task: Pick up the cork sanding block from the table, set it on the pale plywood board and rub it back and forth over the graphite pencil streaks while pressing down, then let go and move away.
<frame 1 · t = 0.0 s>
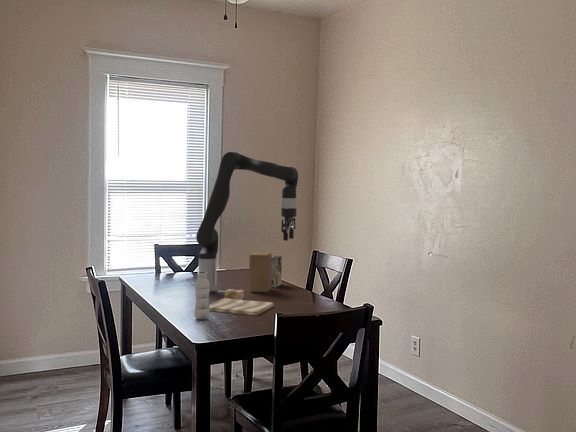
hand: (288, 239, 291), 29 cm above the table, tool pointing down, fingers open, 8 cm apart
sanding block: (234, 299, 288), on the table
board: (239, 307, 269), on the table
plastic bottle: (202, 319, 248), on the table
wooden block: (260, 291, 309), on the table
coffee box: (273, 286, 323), on the table
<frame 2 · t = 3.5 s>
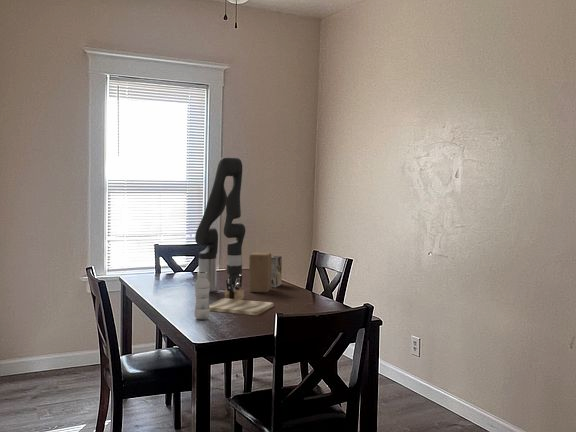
hand: (234, 297, 287), 1 cm above the table, tool pointing down, fingers closed on sanding block, 5 cm apart
sanding block: (234, 299, 288), on the table, touching gripper
everything else where it was.
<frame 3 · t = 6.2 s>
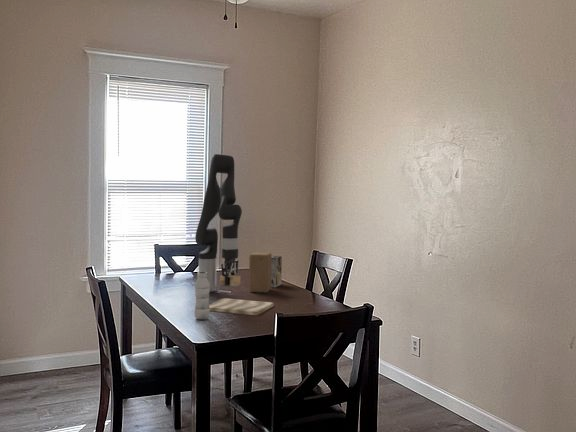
hand: (230, 283, 270), 11 cm above the table, tool pointing down, fingers closed on sanding block, 5 cm apart
sanding block: (230, 285, 270), point 10 cm above the table, touching gripper
everything else where it was.
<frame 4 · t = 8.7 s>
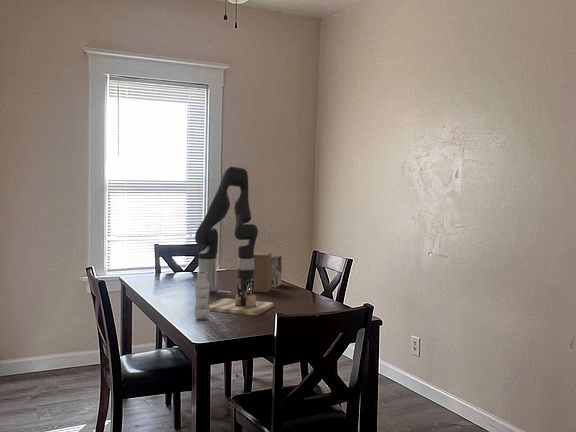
hand: (245, 304, 268), 2 cm above the table, tool pointing down, fingers closed on sanding block, 5 cm apart
sanding block: (245, 305, 268), point 2 cm above the table, touching gripper
everything else where it was.
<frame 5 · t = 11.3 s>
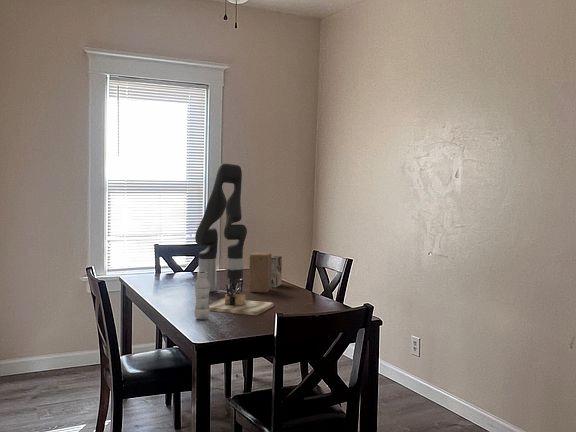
hand: (234, 303, 270), 2 cm above the table, tool pointing down, fingers closed on sanding block, 5 cm apart
sanding block: (235, 304, 270), point 2 cm above the table, touching gripper
everything else where it was.
when the fingers open (2 cm above the table, at t = 13.9 s): sanding block stays where it is, resting on board.
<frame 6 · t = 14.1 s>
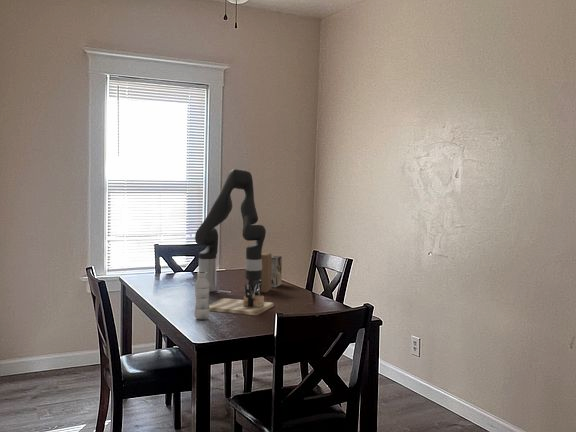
hand: (253, 304, 267), 2 cm above the table, tool pointing down, fingers open, 6 cm apart
sanding block: (253, 306, 267), point 2 cm above the table, touching board
everything else where it was.
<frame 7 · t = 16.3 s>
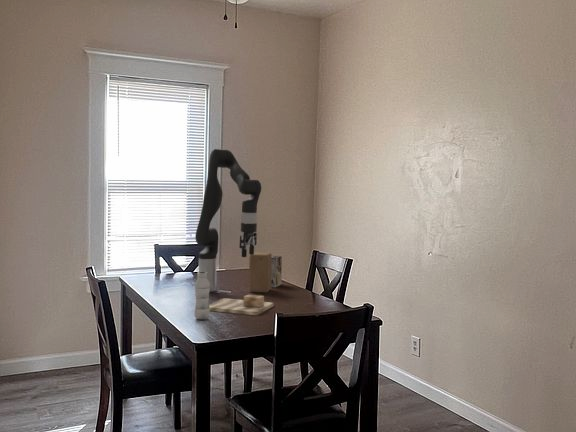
hand: (247, 255, 277), 23 cm above the table, tool pointing down, fingers open, 8 cm apart
nothing on the table moved.
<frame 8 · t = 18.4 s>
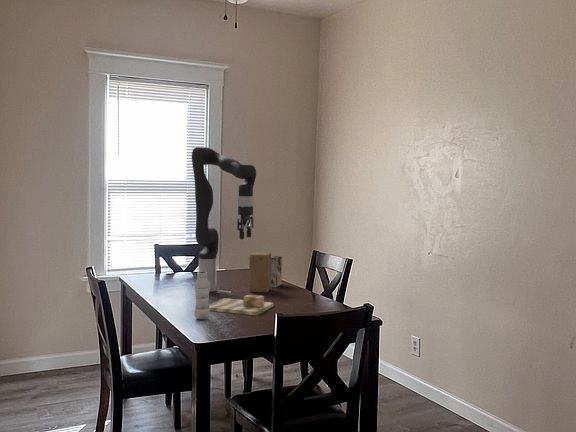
hand: (245, 238, 288), 30 cm above the table, tool pointing down, fingers open, 8 cm apart
nothing on the table moved.
at the end: sanding block inside the target area on the board (5.6 cm from its centre), point 1.5 cm above the board's base; sanding block tilted 0°; the gripper is holding nothing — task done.
